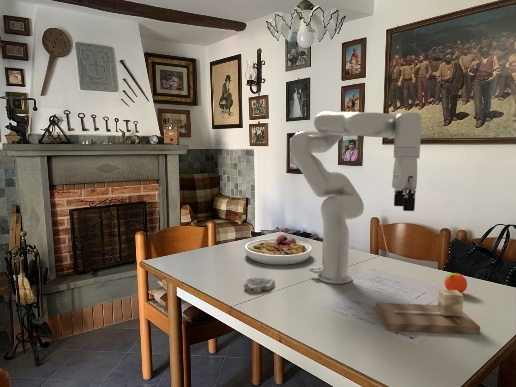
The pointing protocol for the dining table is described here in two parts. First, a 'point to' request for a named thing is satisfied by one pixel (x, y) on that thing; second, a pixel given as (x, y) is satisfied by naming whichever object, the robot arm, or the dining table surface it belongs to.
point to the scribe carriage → (450, 303)
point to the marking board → (423, 319)
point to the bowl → (278, 251)
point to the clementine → (455, 282)
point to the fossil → (258, 284)
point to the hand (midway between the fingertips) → (403, 208)
